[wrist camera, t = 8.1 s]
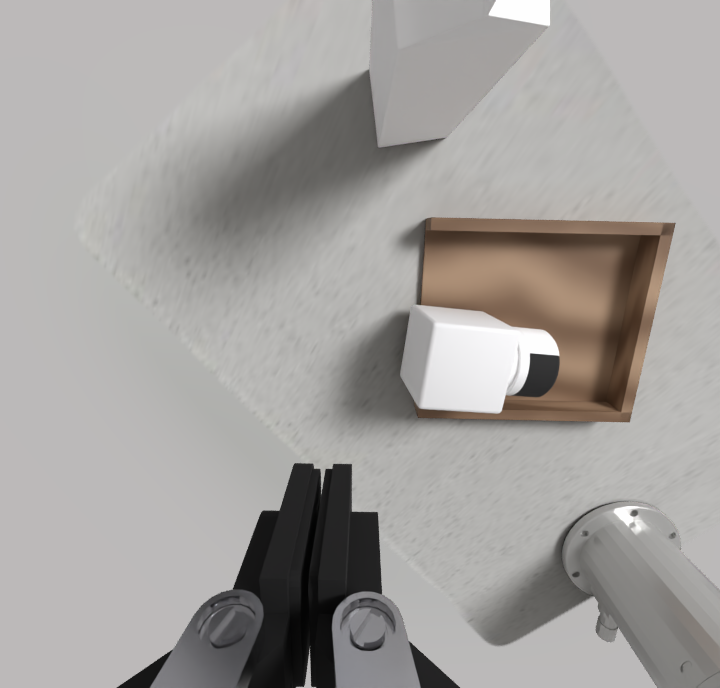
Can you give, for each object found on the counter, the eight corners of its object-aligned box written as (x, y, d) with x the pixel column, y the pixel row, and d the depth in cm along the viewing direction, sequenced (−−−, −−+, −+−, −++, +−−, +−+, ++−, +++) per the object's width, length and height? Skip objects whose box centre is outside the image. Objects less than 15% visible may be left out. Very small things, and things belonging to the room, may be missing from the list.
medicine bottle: (398, 376, 38) (515, 385, 39) (417, 410, 31) (557, 418, 33) (410, 303, 36) (532, 315, 37) (433, 322, 29) (581, 336, 31)
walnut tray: (610, 409, 40) (629, 422, 37) (414, 404, 40) (417, 417, 37) (650, 223, 35) (675, 222, 32) (426, 218, 35) (431, 217, 32)
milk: (442, 56, 32) (611, -302, 10) (447, 139, 33) (604, -27, 12) (366, 68, 32) (383, -260, 11) (376, 150, 34) (407, 5, 12)
